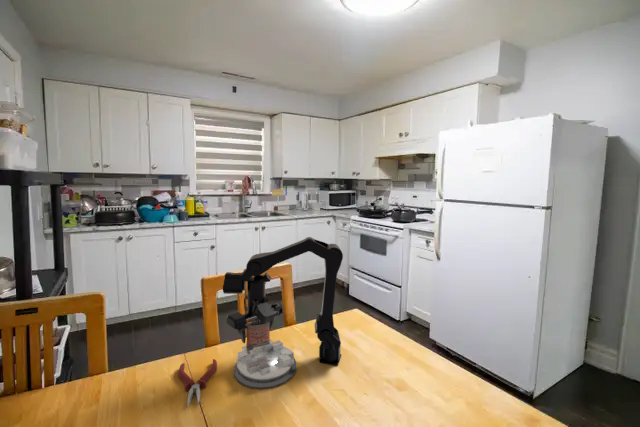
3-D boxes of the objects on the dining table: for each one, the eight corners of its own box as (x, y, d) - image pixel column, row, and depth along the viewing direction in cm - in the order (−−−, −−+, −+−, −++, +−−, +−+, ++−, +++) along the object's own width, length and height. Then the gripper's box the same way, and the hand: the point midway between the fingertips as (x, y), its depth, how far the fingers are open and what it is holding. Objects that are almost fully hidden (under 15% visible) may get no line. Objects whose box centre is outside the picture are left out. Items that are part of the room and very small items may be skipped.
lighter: (268, 339, 110) (268, 312, 109) (271, 344, 107) (271, 315, 106) (245, 344, 107) (244, 316, 106) (247, 349, 104) (247, 320, 103)
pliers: (169, 413, 83) (169, 404, 83) (180, 369, 103) (179, 361, 102) (215, 405, 87) (215, 397, 86) (217, 364, 106) (217, 357, 106)
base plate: (304, 356, 110) (304, 353, 110) (283, 394, 91) (283, 390, 91) (251, 348, 115) (251, 345, 115) (221, 382, 96) (221, 378, 96)
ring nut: (277, 344, 115) (277, 333, 115) (304, 368, 101) (304, 356, 100) (228, 360, 105) (228, 348, 104) (251, 390, 90) (250, 376, 90)
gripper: (244, 309, 92) (244, 359, 94) (293, 293, 105) (292, 338, 107) (225, 297, 100) (225, 344, 102) (273, 284, 113) (273, 326, 115)
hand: (255, 338), depth 107 cm, fingers open, 9 cm apart
